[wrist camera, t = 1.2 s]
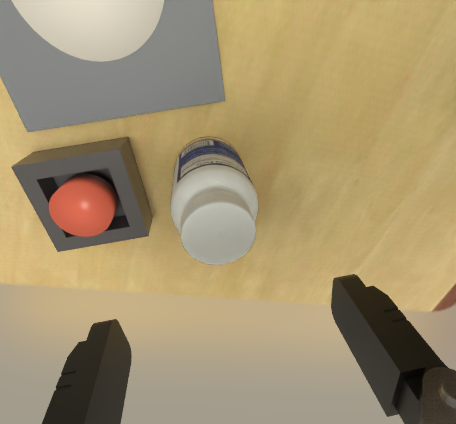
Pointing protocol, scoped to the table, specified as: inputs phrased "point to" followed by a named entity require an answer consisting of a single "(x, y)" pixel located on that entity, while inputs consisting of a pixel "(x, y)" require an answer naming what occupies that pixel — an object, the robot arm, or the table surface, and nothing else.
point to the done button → (84, 205)
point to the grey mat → (107, 58)
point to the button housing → (96, 165)
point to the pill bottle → (213, 202)
